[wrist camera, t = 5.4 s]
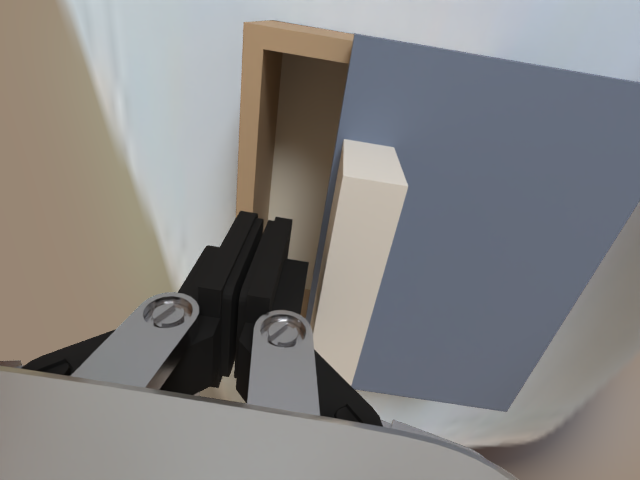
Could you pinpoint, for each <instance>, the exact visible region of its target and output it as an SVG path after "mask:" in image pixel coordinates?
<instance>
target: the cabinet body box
mask: <svg viewBox="0 0 640 480" xmlns="http://www.w3.org/2000/svg"><path fill="white" fill-rule="evenodd" d="M353 38H354V34H350V33H344V32H338V31H332V30H326V29H320V28H315V27H309V26H303V25H297V24H291V23H285V22H280V21H274V20H270V21H255V22H244V28H243V53H242V78H241V103H240V127H239V152H238V177H237V201H236V217H237V215H238V214H239V212H240V211H246V212H252V213H258V218H261V219H264V225H263V232H264V230H265V227H266V224H267V222H268V220H272V221H274V220H275V217H281V218H287V219H293V221H292V230H291V237H290V244H289V252H288V259H292V260H298V261H304V262H309V265H308V272H307V278H306V284H305V290H304V296H303V303H302V309H301V316H302V317H304V318H305V319H306V313H307V307H308V301H309V295H310V289H311V283H312V278H313V272H314V266H315V260H316V254H317V248H318V242H319V237H320V231H321V225H322V219H323V213H324V207H325V201H326V196H327V190H328V184H329V178H330V172H331V166H332V160H333V155H334V149H335V143H336V137H337V131H338V125H339V119H340V114H341V108H342V102H343V96H344V90H345V84H346V79H347V73H348V67H349V61H350V55H351V49H352V43H353Z"/></svg>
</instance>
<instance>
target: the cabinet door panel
mask: <svg viewBox="0 0 640 480" xmlns="http://www.w3.org/2000/svg"><path fill="white" fill-rule="evenodd" d="M639 201H640V82H635V81H629V80H623V79H617V78H611V77H605V76H600V75H594V74H588V73H582V72H576V71H570V70H565V69H559V68H553V67H547V66H541V65H536V64H530V63H524V62H518V61H512V60H506V59H501V58H495V57H489V56H483V55H477V54H471V53H466V52H460V51H454V50H448V49H442V48H436V47H431V46H425V45H419V44H413V43H407V42H401V41H396V40H390V39H384V38H378V37H372V36H366V35H361V34H355V33H354V38H353V43H352V49H351V55H350V61H349V67H348V73H347V79H346V84H345V90H344V96H343V102H342V108H341V114H340V119H339V125H338V131H337V137H336V143H335V149H334V155H333V160H332V166H331V172H330V178H329V184H328V190H327V196H326V201H325V207H324V213H323V219H322V225H321V231H320V237H319V242H318V248H317V254H316V260H315V266H314V272H313V278H312V283H311V289H310V295H309V301H308V307H307V313H306V320H307V321H308V322H309V324H310V325H311V328H312V332H313V343H314V349H315V351H316V352H317V353H318V354H319V355H320V356H321V357H322V358H323V359H324V360H325V361H326V362H327V363H328V364H329V365H330V366H331V367H332V368H333V369H334V370H335V371H336V372H337V373H338V374H339V375H340V376H341V377H342V378H343V379H344V380H345V381H346V382H347V383H348V384H349V385H350V386H351V387H352V388H353V389H356V390H363V391H370V392H376V393H383V394H390V395H397V396H403V397H410V398H417V399H424V400H430V401H437V402H444V403H451V404H457V405H464V406H471V407H477V408H484V409H491V410H498V411H504V412H507V410H508V409H509V407H510V406H511V404H512V402H513V401H514V399H515V398H516V396H517V395H518V393H519V391H520V390H521V388H522V387H523V385H524V383H525V382H526V380H527V379H528V377H529V375H530V374H531V372H532V371H533V369H534V368H535V366H536V364H537V363H538V361H539V360H540V358H541V356H542V355H543V353H544V352H545V350H546V349H547V347H548V345H549V344H550V342H551V341H552V339H553V337H554V336H555V334H556V333H557V331H558V329H559V328H560V326H561V325H562V323H563V322H564V320H565V318H566V317H567V315H568V314H569V312H570V310H571V309H572V307H573V306H574V304H575V303H576V301H577V299H578V298H579V296H580V295H581V293H582V291H583V290H584V288H585V287H586V285H587V284H588V282H589V280H590V279H591V277H592V276H593V274H594V272H595V271H596V269H597V268H598V266H599V264H600V263H601V261H602V260H603V258H604V257H605V255H606V253H607V252H608V250H609V249H610V247H611V245H612V244H613V242H614V241H615V239H616V238H617V236H618V234H619V233H620V231H621V230H622V228H623V226H624V225H625V223H626V222H627V220H628V218H629V217H630V215H631V214H632V212H633V211H634V209H635V207H636V206H637V204H638V203H639Z"/></svg>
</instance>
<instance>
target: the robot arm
mask: <svg viewBox="0 0 640 480" xmlns="http://www.w3.org/2000/svg"><path fill="white" fill-rule="evenodd" d="M292 221H293V219H287V218H281V217H275V220H274V221H272V220H268V222H267V224H266V227H265V230H264V232H263V225H264V219H261V218H258V213H252V212H246V211H240V212H239V214H238V215H237V217H236V219H235V221H234V223H233V224H232V226H231V228H230V230H229V232H228V233H227V235H226V237H225V239H224V241H223V242H222V244H221V246H220V247H215V246H206V248H205V249H204V251H203V252H202V254H201V255H200V257H199V259H198V260H197V262H196V264H195V265H194V267H193V268H192V270H191V272H190V273H189V275H188V277H187V278H186V280H185V282H184V283H183V285H182V286H181V288H180V290H179V291H178V293H176V292H172V293H162V294H158V295H155V296H153V297H151V298H148V299H147V300H146V301H144V302H143V303H142V304H141V305H140V306H139V307H138V308H137V309H136V310H135V311H134V312H133V313H132V314H131V315H130V316H129V317H128V318H127V319H126V320H125V321H124V322H123V323H122V324H121V325H120V326H119V327H118V328H117V329H116V330H113V331H110V332H107V333H105V334H102V335H99V336H96V337H93V338H91V339H88V340H85V341H82V342H80V343H77V344H74V345H71V346H68V347H65V348H63V349H60V350H57V351H55V352H52V353H49V354H46V355H43V356H41V357H39V358H37V359H34V360H32V361H30V362H29V363H28V364H26V365H24V366H22V363H21V361H0V480H519V479H518V478H516V477H515V476H514V475H512V474H511V473H509V472H508V471H506V470H504V469H503V468H501V467H500V466H498V465H496V464H494V463H492V462H490V461H488V460H487V459H485V458H484V457H483V456H482V455H481V454H479V453H477V452H476V451H474V450H472V449H470V448H468V447H465V446H462V445H460V444H457V443H454V442H452V441H449V440H447V439H444V438H441V437H439V436H436V435H433V434H431V433H428V432H425V431H423V430H420V429H417V428H415V427H412V426H410V425H407V424H404V423H402V422H399V421H396V420H394V419H393V421H392V424H391V423H388V422H386V421H383V420H380V417H379V415H378V414H377V413H376V411H375V410H374V409H373V408H372V407H371V406H370V405H369V404H368V403H367V402H366V401H365V400H364V399H363V398H362V397H361V396H360V395H359V394H358V393H357V392H356V391H355V390H354V389H353V388H352V387H351V386H350V385H349V384H348V383H347V382H346V381H345V380H344V379H343V378H342V377H341V376H340V375H339V374H338V373H337V372H336V371H335V370H334V369H333V368H332V367H331V366H330V365H329V364H328V363H327V362H326V361H325V360H324V359H323V358H322V357H321V356H320V355H319V354H318V353H317V352H316V351H315V349H314V343H313V332H312V328H311V325H310V324H309V322H308V321H307V320H306V319H305V318H304V317H302V316H301V309H302V303H303V296H304V290H305V284H306V278H307V272H308V265H309V262H304V261H298V260H292V259H288V252H289V244H290V237H291V230H292ZM234 361H235V371H234V378H237V381H236V390H237V391H238V392H239V394H240V395H241V397H242V398H243V399H244V401H245V402H246V403H247V404H245V403H239V402H233V401H226V400H220V399H214V398H207V397H201V396H200V391H202V390H204V389H206V388H208V387H216V388H218V387H219V385H220V382H221V379H222V376H226V377H229V375H230V373H231V370H232V367H233V364H234Z"/></svg>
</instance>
